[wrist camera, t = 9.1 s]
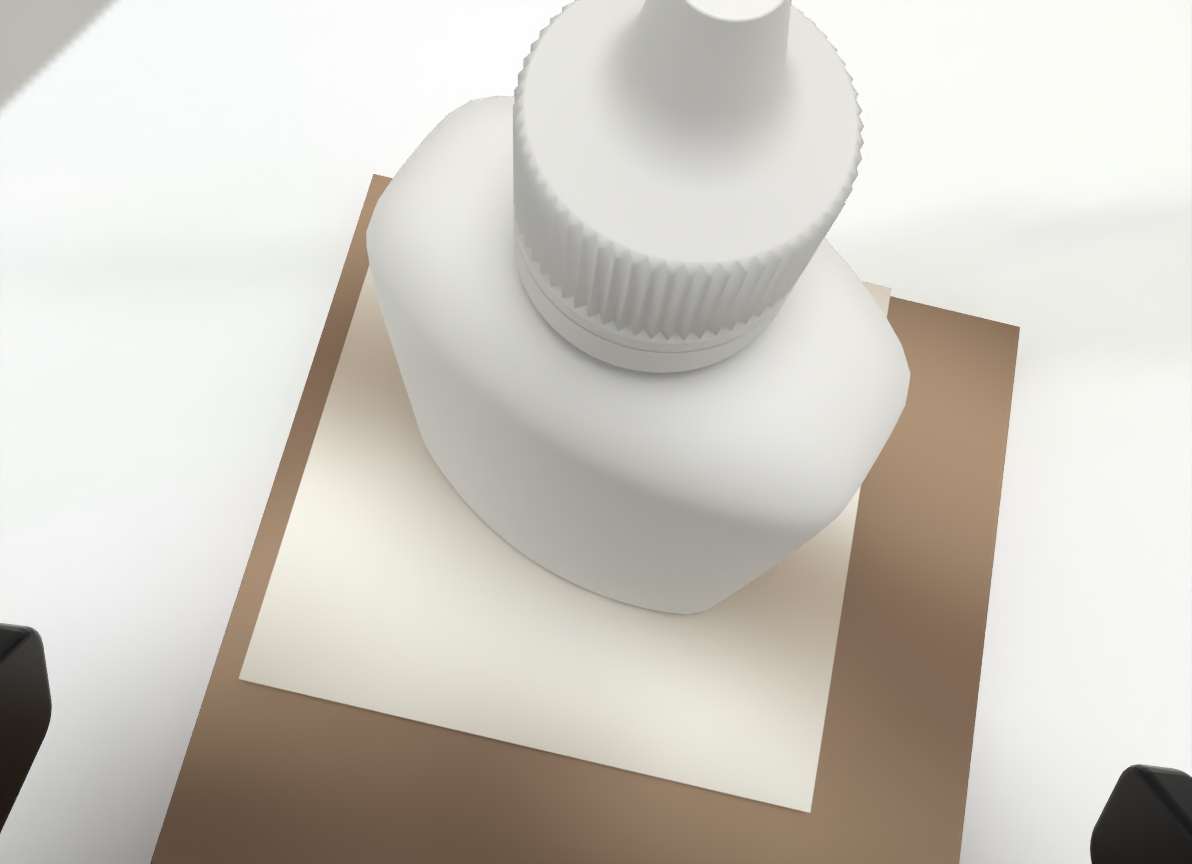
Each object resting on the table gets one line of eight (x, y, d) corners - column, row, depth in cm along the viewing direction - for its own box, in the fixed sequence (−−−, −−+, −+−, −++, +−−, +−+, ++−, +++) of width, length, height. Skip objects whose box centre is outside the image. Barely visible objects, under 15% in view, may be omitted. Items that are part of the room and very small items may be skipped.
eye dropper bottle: (624, 282, 18) (801, -484, 7) (788, 566, 17) (1345, 223, 6) (395, 390, 17) (155, -276, 6) (551, 696, 16) (631, 608, 5)
